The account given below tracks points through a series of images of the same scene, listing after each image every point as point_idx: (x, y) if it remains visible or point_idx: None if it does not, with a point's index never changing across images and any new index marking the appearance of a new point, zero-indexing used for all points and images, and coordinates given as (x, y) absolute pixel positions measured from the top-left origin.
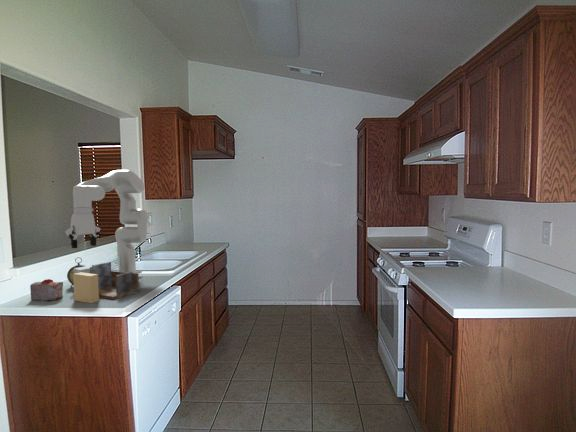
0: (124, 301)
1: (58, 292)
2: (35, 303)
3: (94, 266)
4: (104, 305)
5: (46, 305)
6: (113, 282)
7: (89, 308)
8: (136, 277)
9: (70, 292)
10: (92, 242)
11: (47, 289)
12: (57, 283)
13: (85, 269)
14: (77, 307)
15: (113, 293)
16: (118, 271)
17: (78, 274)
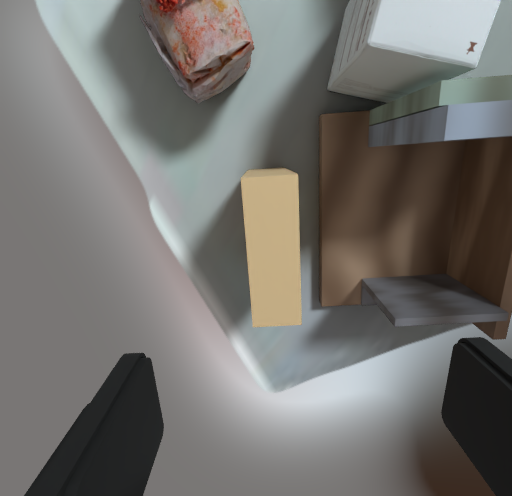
0: (321, 347)
1: (208, 95)
2: (131, 53)
3: (438, 140)
4: (260, 327)
5: (147, 136)
6: (476, 153)
7: (215, 313)
8: (479, 327)
9: (322, 5)
10: (483, 423)
11: (160, 55)
12: (205, 63)
13: (412, 56)
14: (200, 270)
15: (356, 270)
16: None
17: (247, 226)
